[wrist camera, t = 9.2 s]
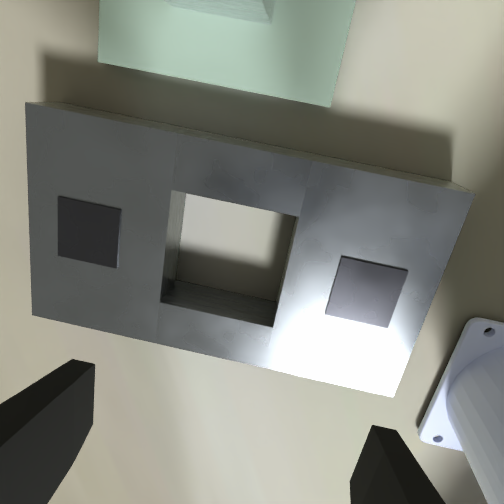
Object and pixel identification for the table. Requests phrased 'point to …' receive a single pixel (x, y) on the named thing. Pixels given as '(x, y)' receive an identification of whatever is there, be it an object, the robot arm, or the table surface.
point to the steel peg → (231, 8)
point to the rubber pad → (232, 45)
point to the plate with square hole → (244, 193)
